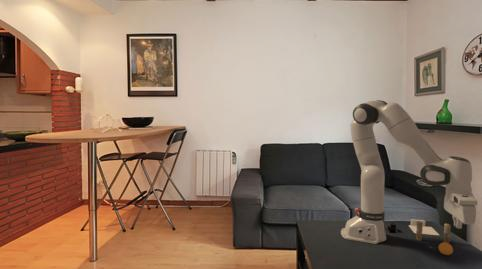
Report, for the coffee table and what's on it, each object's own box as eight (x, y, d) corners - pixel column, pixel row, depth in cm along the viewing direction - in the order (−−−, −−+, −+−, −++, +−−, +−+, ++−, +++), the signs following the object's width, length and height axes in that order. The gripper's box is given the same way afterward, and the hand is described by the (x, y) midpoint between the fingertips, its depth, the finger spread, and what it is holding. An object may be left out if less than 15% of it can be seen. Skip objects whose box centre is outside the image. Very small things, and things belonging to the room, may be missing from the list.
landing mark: (414, 233, 160) (414, 233, 160) (408, 225, 172) (408, 225, 172) (439, 235, 157) (439, 235, 157) (431, 227, 169) (431, 226, 169)
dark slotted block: (402, 236, 158) (403, 227, 158) (388, 235, 160) (388, 227, 159) (394, 227, 171) (394, 219, 170) (381, 226, 172) (381, 219, 171)
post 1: (417, 240, 152) (417, 223, 151) (415, 238, 154) (416, 221, 154) (422, 240, 151) (423, 223, 150) (421, 238, 154) (421, 221, 153)
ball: (441, 256, 134) (441, 244, 134) (436, 251, 139) (436, 239, 139) (455, 258, 133) (455, 246, 132) (449, 252, 138) (450, 241, 138)
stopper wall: (411, 225, 172) (411, 220, 172) (410, 224, 174) (410, 219, 174) (425, 226, 170) (425, 221, 170) (424, 225, 172) (424, 220, 172)
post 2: (444, 242, 149) (445, 225, 148) (442, 240, 151) (443, 223, 150) (450, 243, 148) (451, 225, 147) (448, 241, 150) (449, 223, 150)
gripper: (440, 189, 135) (439, 218, 136) (461, 201, 115) (460, 236, 116) (455, 189, 134) (455, 219, 134) (479, 202, 114) (479, 237, 115)
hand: (457, 227), depth 125 cm, fingers closed
